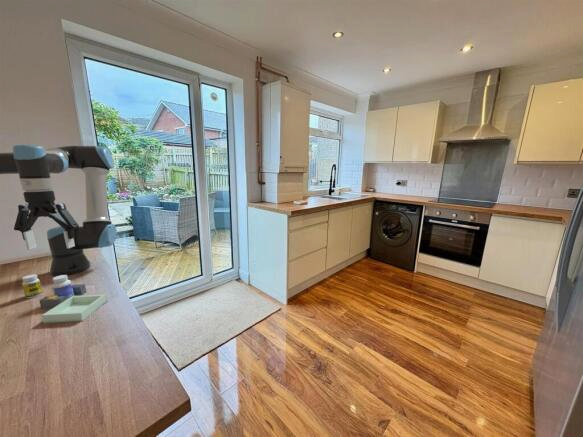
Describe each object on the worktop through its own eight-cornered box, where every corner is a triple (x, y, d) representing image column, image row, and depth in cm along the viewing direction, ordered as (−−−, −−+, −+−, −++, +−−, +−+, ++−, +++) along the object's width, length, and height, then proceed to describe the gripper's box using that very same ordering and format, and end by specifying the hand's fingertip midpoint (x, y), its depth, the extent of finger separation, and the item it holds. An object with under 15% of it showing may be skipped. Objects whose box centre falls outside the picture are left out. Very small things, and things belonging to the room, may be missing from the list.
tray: (73, 303, 90) (72, 296, 90) (107, 301, 91) (106, 294, 91) (43, 323, 78) (41, 315, 78) (82, 321, 79) (80, 313, 79)
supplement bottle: (31, 299, 94) (26, 279, 92) (22, 298, 95) (17, 278, 93) (45, 293, 98) (41, 274, 97) (37, 292, 99) (32, 273, 98)
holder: (68, 292, 98) (66, 283, 97) (86, 291, 99) (84, 283, 98) (41, 309, 87) (38, 299, 86) (61, 307, 87) (59, 298, 86)
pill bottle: (77, 297, 94) (73, 274, 92) (61, 304, 89) (55, 281, 87) (69, 295, 96) (64, 273, 94) (52, 302, 91) (46, 279, 89)
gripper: (-12, 192, 79) (4, 252, 84) (66, 191, 81) (78, 249, 85) (12, 190, 87) (26, 245, 91) (83, 189, 88) (94, 243, 92)
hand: (51, 247), depth 88 cm, fingers open, 13 cm apart
